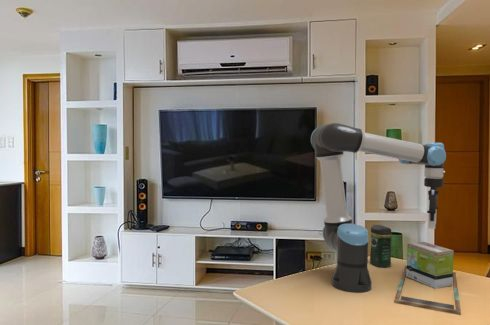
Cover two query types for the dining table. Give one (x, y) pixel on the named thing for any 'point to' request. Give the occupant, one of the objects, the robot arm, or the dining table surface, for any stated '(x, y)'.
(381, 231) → the coffee jar
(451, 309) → the tray
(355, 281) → the robot arm
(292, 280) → the dining table surface
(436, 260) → the tea box
